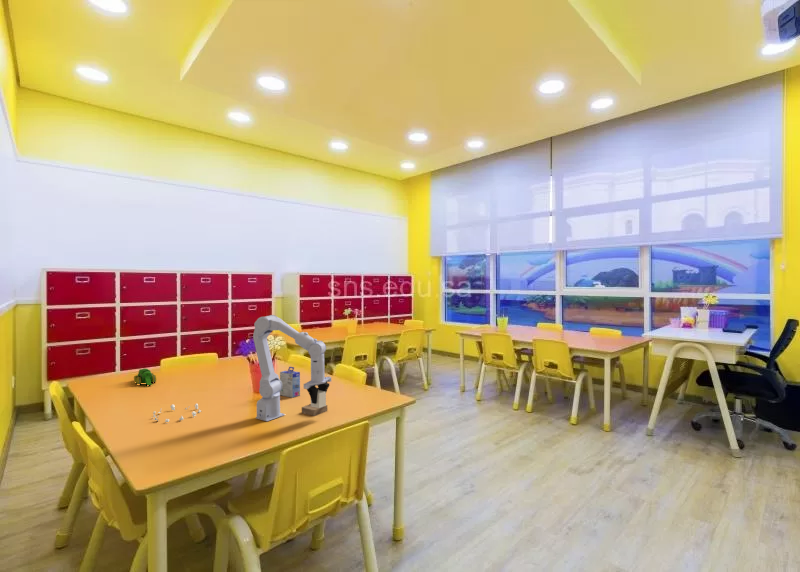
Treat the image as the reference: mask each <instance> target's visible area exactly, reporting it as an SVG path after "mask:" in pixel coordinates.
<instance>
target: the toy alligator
mask: <svg viewBox="0 0 800 572" xmlns="http://www.w3.org/2000/svg"><path fill="white" fill-rule="evenodd" d="M156 376H157V375H155V374H154V373H153V372H151V370H150V369H148V368H140V369H138V373H137V375H134V377H133V382H134V381H135V382H136V383H137V384H141V383H146V384H147V385H152V386H153V383H151V382H157V377H156ZM146 384H145V385H146ZM141 385H142V384H141Z"/></svg>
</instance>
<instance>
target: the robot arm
mask: <svg viewBox="0 0 800 572" xmlns="http://www.w3.org/2000/svg"><path fill="white" fill-rule="evenodd" d="M253 324H254V329H253V330H254V331H253V334H252V335H253V336H252V338H253V343H254V346H255V347H254V348H255V351H256V356H257V361H258V364H259V370H260V374H261V377H260V380H259V389H258V391H259V392H258V393H259V394H260V396H261V398H260V399H259V400H257V402H256V416H255V419H257V420H261V421H265V422H270V421H273V420H275V419H277V418H281V417H284V416H285V415H286V414H285V413H282V412H281V395H280V391H281V389H282V382H281V381H280V375H279V374H278V373H276V372H275V368H274V364H273V359H272V354H271V351H270V346H269V345H270V344H269V342H268V337H269V336H270V335H271V333H272V332H273V331H279V332H281V333H283V334H285V335H286V336H288V337H290V338H292V339H294V343H295V344H296V345H297V346H300V347H301V348H303V349H304V350H305V351H308V355H309V356H310V380H309V381H307V382H305V383H303V389H305V390H306V391H307V392H308V395H309V397H310V402H311V401H312V403H314V404H316V403H317V394H318V390H320V391H325V392H326V393H327V391H328V389H329V387H330V382H332V376H326V375H325V371H326V370H325V369H326V368H325V353H326V350H327V345H326V344H325V342H323V340H318V339H317V338H313V336H310V335H309V333H308V332H307V331H301V332H299V331H298V330H296V329H295V328H294V327H292V326H291V325H289V324H288V323H287V322H285V321H284V320H283V319H282V318H281V317H278V316H277V315H275V314H270V315H266V316H260V317H258V318H257V319H256V320H255V322H254V323H253Z"/></svg>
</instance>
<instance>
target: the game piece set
mask: <svg viewBox="0 0 800 572" xmlns="http://www.w3.org/2000/svg"><path fill="white" fill-rule="evenodd" d="M190 407H191V406H190V405H188V407H185V408H184V410H188V409H189V408H190ZM194 407H195V410H196V409H197V410H198V411H197V412H196V411H192V412H191V415H192V416H193V417H192V418H195V417H194V416H196V417H197V413H198V414H200V412H201V413H202V410H201V409H200V408H199V404H198V403H195V405H194ZM187 408H188V409H187ZM170 410H171V411H172V410H174V411H175V410H176V406H175V404H174V403H173V404H171V405H170ZM156 412H157V411H155V410H154V411H153V412H152V414H153V416H152V417H153V418H154V417H155V419H153V421H155V420H157V421H158V422H159V415H156ZM158 413H162V409H160V410H159V412H157V414H158ZM156 416H157V418H156ZM184 419H185V418H184V417H183V415H181V416H180V417H179V419H178V421H181V420H182V421H183V420H184ZM169 421H170V418H165V420H164V423H165V422H169Z"/></svg>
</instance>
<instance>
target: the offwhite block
mask: <svg viewBox="0 0 800 572" xmlns="http://www.w3.org/2000/svg"><path fill="white" fill-rule="evenodd" d="M326 394H327V392H325V391H320V390H318V394H317V403H316V404H314V403H312V401H311V400H310V404H311V406H312V407H316V408H321V407H324V406H326V405H327V395H326Z"/></svg>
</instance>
